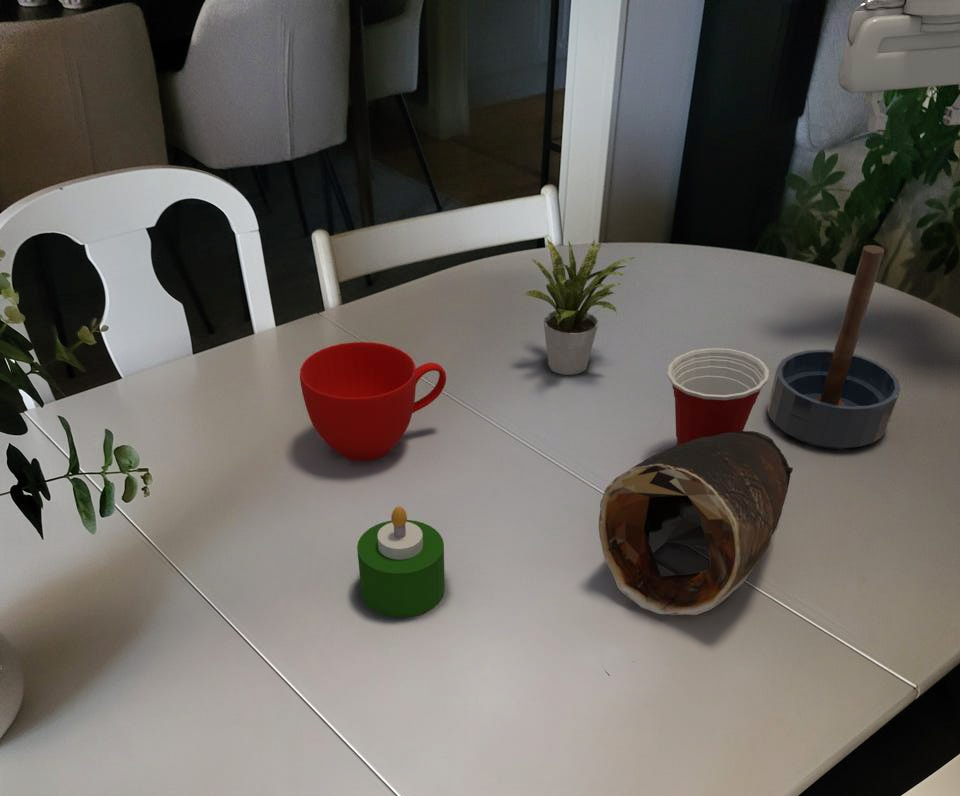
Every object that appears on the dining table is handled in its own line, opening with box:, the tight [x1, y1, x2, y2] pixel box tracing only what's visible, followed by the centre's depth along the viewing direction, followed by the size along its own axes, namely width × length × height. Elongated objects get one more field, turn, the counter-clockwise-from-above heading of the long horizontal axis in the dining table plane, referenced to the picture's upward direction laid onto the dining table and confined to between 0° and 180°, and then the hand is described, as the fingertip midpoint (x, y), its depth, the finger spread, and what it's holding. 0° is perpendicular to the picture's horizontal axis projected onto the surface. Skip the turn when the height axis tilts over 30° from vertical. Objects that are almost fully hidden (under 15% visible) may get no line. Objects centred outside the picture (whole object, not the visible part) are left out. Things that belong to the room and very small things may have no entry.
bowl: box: [767, 349, 901, 450], centre depth 119 cm, size 14×14×6 cm
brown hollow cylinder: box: [598, 430, 794, 616], centre depth 98 cm, size 15×15×25 cm
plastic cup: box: [667, 347, 770, 445], centre depth 110 cm, size 11×11×12 cm
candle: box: [356, 506, 446, 618], centre depth 93 cm, size 8×8×10 cm
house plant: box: [524, 238, 637, 376], centre depth 124 cm, size 14×14×16 cm
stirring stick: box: [814, 244, 885, 406], centre depth 113 cm, size 4×4×21 cm
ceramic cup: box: [299, 341, 447, 462], centre depth 113 cm, size 13×17×10 cm
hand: (913, 127), depth 119 cm, fingers open, 8 cm apart
